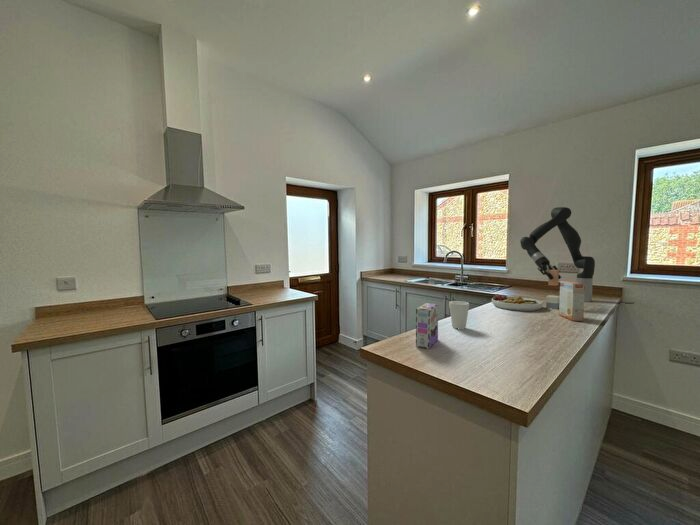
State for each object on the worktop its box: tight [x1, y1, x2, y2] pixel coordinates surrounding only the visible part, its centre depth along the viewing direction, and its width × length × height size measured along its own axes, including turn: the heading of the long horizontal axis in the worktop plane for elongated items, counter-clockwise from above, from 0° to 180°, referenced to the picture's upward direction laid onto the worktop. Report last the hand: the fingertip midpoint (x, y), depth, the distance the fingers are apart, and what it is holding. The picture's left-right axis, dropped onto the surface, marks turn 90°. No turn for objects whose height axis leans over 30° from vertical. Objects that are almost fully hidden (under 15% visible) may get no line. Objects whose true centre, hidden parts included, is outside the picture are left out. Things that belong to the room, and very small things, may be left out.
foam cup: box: [448, 300, 470, 330], centre depth 147 cm, size 10×9×13 cm
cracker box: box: [558, 280, 585, 322], centre depth 163 cm, size 14×6×21 cm, turn 168°
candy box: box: [415, 302, 439, 350], centre depth 124 cm, size 14×6×16 cm, turn 148°
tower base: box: [545, 302, 560, 310], centre depth 191 cm, size 6×6×4 cm
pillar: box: [547, 269, 560, 287], centre depth 190 cm, size 4×4×10 cm
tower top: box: [545, 294, 560, 303], centre depth 191 cm, size 6×6×4 cm
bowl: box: [491, 293, 544, 312], centre depth 195 cm, size 30×30×8 cm
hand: (556, 278), depth 188 cm, fingers closed on pillar, 6 cm apart
